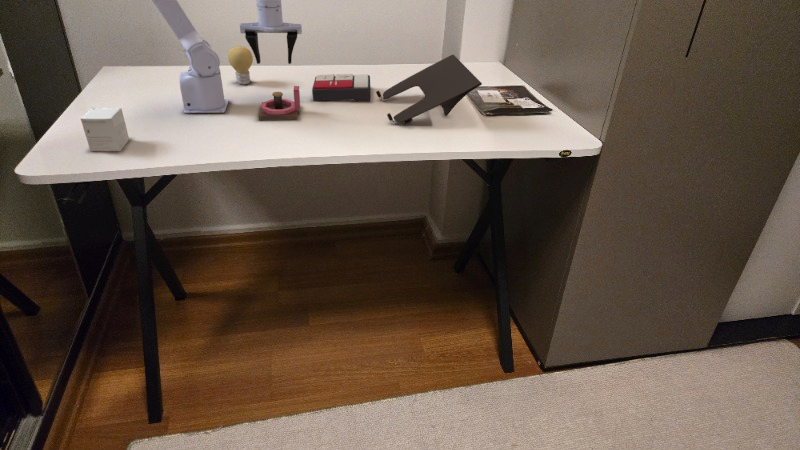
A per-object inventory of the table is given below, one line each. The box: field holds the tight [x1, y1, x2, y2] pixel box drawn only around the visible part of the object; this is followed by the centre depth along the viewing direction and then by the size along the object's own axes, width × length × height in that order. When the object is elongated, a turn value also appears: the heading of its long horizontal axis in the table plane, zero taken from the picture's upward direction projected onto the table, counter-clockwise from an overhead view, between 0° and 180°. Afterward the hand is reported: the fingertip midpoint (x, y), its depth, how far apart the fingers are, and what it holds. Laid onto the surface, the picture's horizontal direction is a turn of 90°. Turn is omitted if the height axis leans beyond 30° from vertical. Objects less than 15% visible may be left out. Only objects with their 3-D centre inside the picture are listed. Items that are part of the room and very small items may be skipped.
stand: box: [258, 91, 299, 121], centre depth 128 cm, size 9×9×5 cm
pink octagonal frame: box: [260, 85, 301, 115], centre depth 127 cm, size 9×8×5 cm
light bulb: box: [227, 45, 254, 85], centre depth 143 cm, size 6×6×10 cm
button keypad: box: [311, 73, 371, 103], centre depth 141 cm, size 11×4×15 cm
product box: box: [80, 107, 130, 152], centre depth 109 cm, size 6×6×7 cm
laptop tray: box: [375, 54, 483, 125], centre depth 133 cm, size 23×23×9 cm
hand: (274, 62), depth 132 cm, fingers open, 7 cm apart
